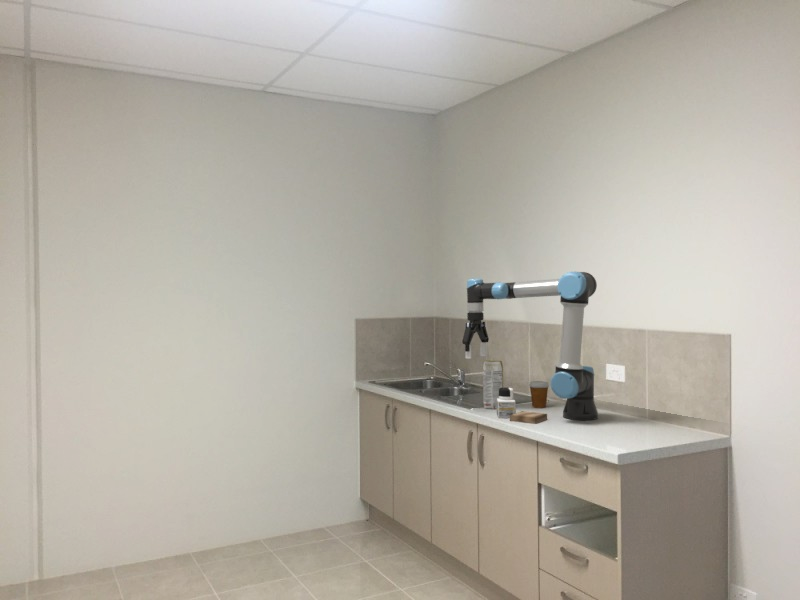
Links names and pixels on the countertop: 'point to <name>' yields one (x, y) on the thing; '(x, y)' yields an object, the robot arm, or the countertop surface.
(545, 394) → the disposable coffee cup
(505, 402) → the container
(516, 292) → the robot arm
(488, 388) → the juice carton
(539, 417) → the stand
